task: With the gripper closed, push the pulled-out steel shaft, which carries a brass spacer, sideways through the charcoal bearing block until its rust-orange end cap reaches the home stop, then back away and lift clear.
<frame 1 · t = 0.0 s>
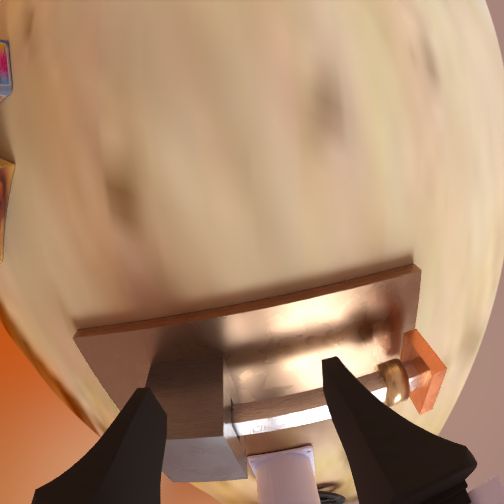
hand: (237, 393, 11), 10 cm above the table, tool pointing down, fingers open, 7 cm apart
shaft: (310, 406, 19), point 5 cm above the table, slide at 8.0 cm
milk frother: (305, 499, 40), on the table
bearing base: (256, 370, 24), on the table
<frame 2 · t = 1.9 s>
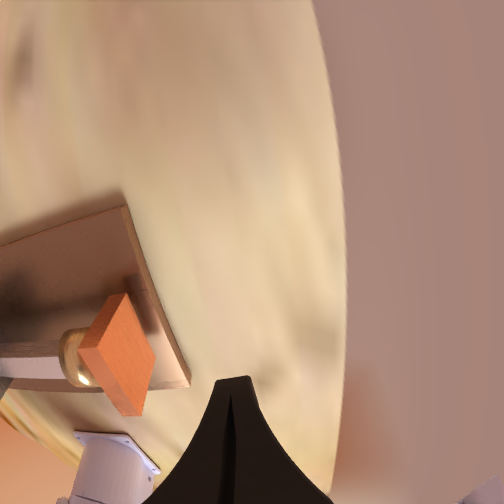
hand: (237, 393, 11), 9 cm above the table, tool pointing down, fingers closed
shaft: (20, 360, 15), point 5 cm above the table, slide at 8.0 cm
bearing base: (22, 324, 19), on the table
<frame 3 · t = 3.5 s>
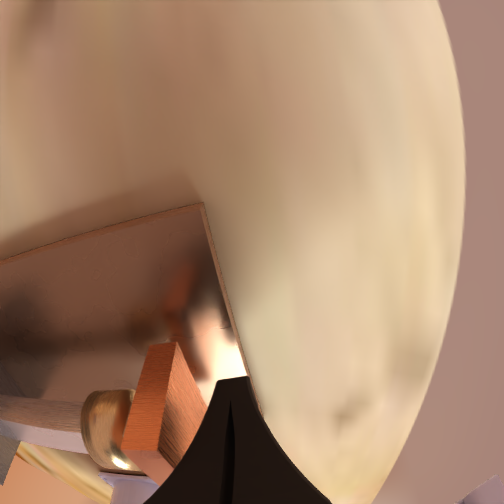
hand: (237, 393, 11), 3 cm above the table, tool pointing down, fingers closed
shaft: (24, 420, 10), point 5 cm above the table, slide at 6.7 cm, touching gripper
bearing base: (33, 362, 14), on the table
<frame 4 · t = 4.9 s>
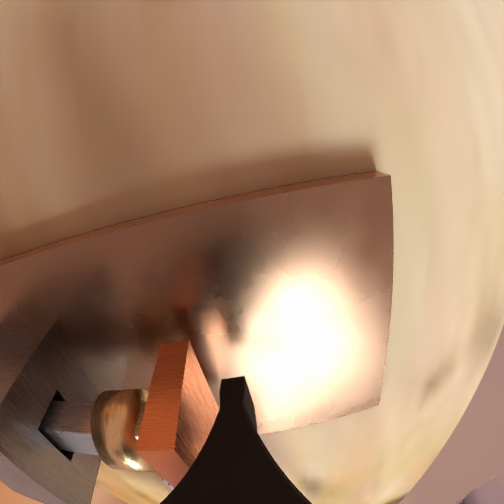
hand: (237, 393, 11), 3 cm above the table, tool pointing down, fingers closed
shaft: (30, 421, 10), point 5 cm above the table, slide at -0.1 cm, touching gripper
bearing base: (121, 357, 14), on the table
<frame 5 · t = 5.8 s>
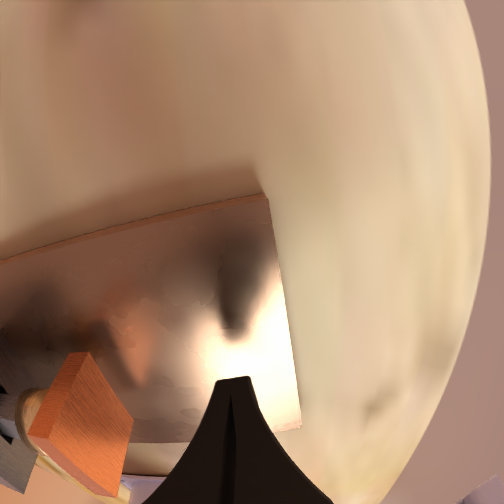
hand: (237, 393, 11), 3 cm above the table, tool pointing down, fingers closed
bearing base: (57, 361, 14), on the table
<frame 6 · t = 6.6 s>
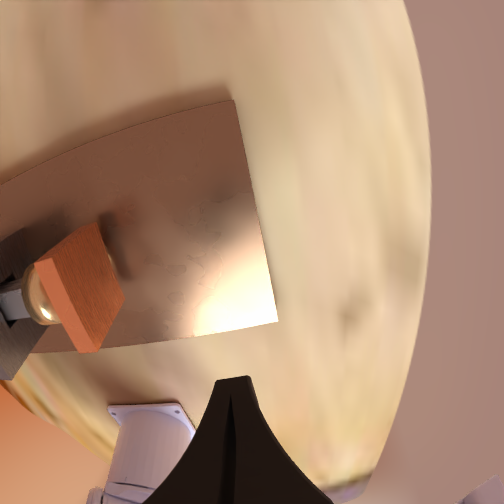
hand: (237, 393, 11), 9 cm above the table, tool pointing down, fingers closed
bearing base: (64, 261, 18), on the table
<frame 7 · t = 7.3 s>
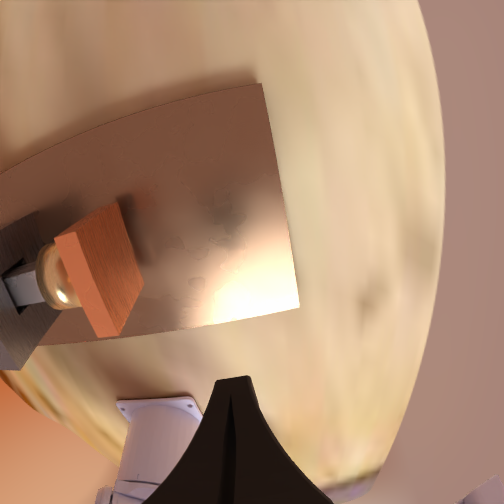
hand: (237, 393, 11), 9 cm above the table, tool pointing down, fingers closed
bearing base: (77, 247, 18), on the table
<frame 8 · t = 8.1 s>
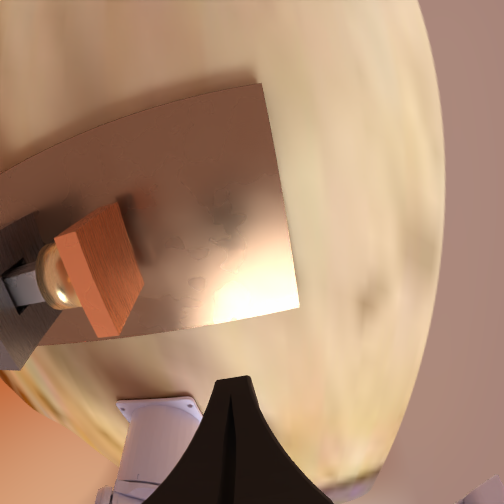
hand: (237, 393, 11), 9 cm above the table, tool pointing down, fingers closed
bearing base: (77, 247, 18), on the table
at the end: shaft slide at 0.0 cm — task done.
